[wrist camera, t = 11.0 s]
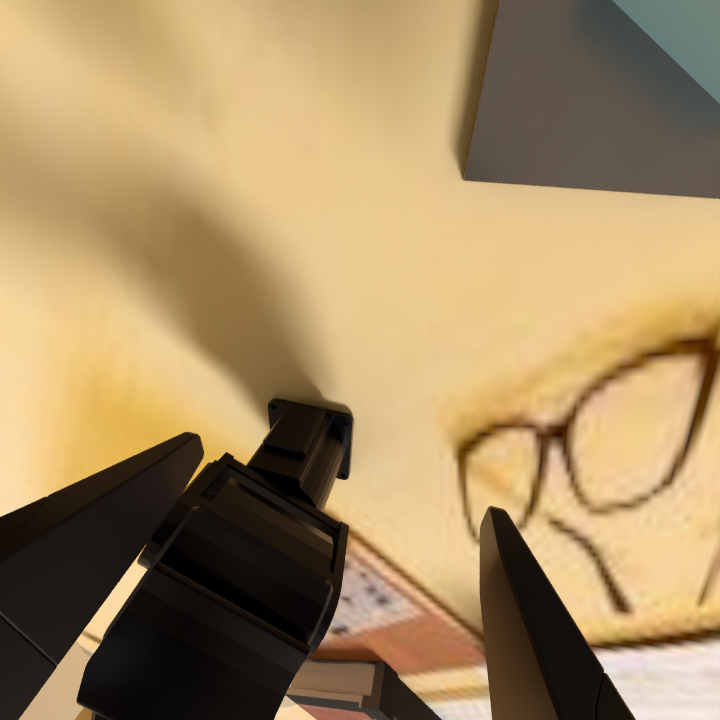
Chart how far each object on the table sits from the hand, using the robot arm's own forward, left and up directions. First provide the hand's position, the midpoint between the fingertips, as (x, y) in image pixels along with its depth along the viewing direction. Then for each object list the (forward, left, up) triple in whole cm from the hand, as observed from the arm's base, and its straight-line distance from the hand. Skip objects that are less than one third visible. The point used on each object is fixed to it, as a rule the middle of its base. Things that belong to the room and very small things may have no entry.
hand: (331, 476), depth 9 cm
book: (-63, -6, -12) cm, 65 cm away
